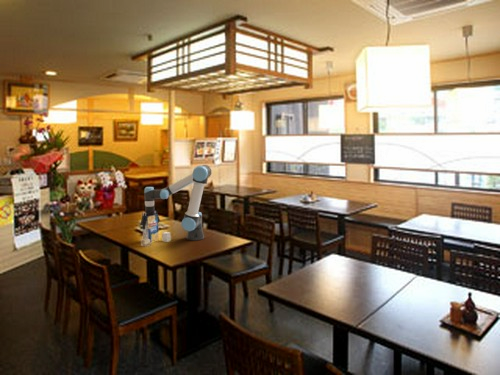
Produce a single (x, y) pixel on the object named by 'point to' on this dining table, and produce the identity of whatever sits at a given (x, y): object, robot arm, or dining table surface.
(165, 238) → the white plastic block
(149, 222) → the beverage box
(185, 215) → the robot arm
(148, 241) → the maple cube
